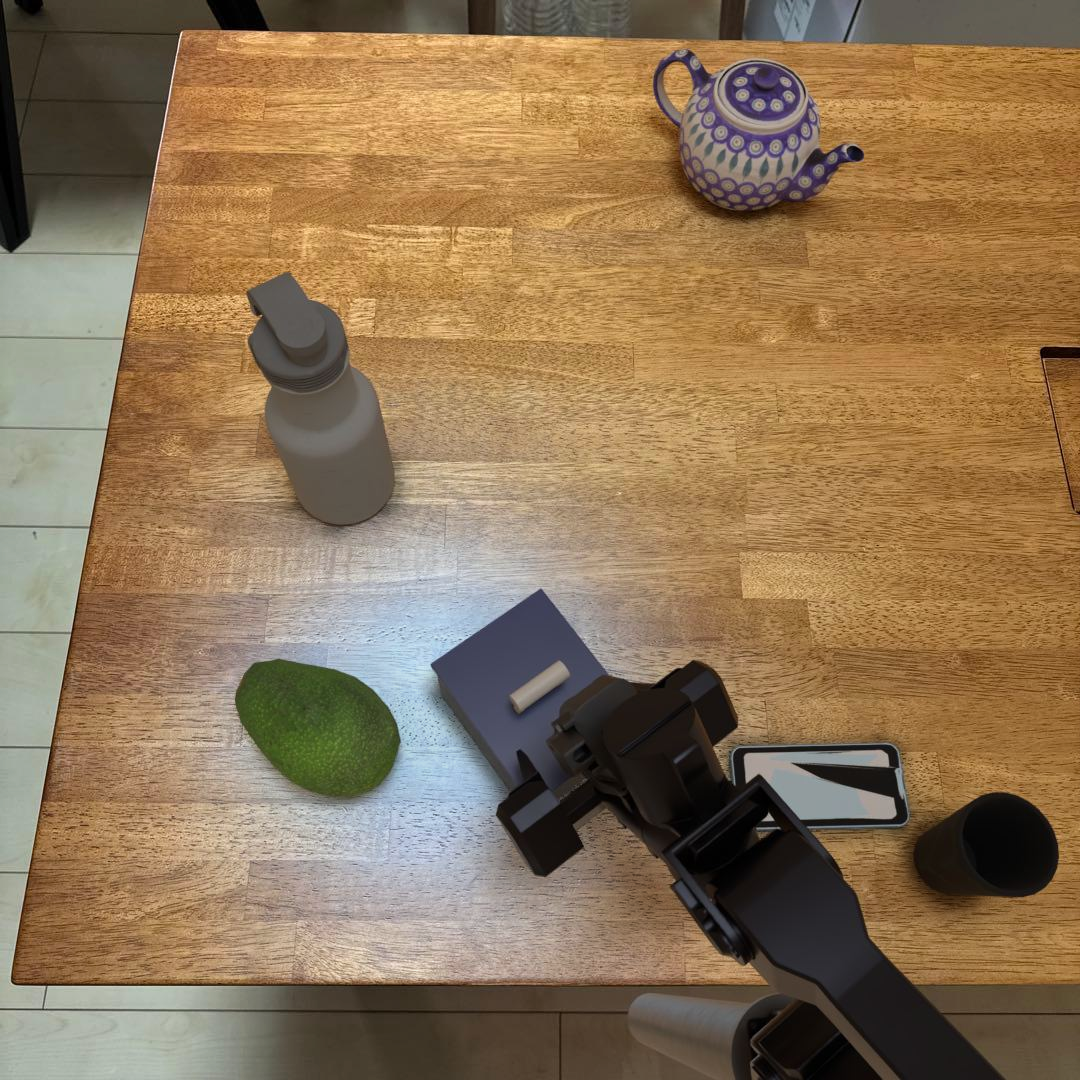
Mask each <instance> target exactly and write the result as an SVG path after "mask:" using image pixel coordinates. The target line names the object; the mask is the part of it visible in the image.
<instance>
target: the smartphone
mask: <svg viewBox="0 0 1080 1080" xmlns="http://www.w3.org/2000/svg"><path fill="white" fill-rule="evenodd" d="M729 769H730V777H731V783H732V784H734V785H735V786H736V787H738V788H739V789H740V788H741V787H742V786H744V785H745V784H746V783H747V782H749V781H750V780H751V779H752V778H754V777H755V776H756V775H757V774H760V775H762V776H763V777H764V779H765V780H766V781H767V782H768V783H769V784H770V785H771V787H772V788H773V789H774V790H775V791H776V792H777V793H778V795H779V796H780V797H781V798H782V799H783V800H784V801H785V803H786V804H787V805H788V806H789V807H790V808H791V809H792V811H793V812H794V813H795V814H796V815H797V816H798V817H799V819H800V820H801V821H802V822H803V823H804V824H805V825H806V827H807V828H808V829H809V830H810V831H816V830H818V831H819V830H865V829H898V828H902V827H904V826H906V825H907V824H908V823H909V821H910V818H911V813H910V807H909V800H908V796H907V795H908V794H907V789H906V783H905V776H904V771H903V770H904V769H903V764H902V758H901V753H900V750H899V748H898V747H897V746H896V745H895V744H894V743H891V742H886V741H885V742H883V741H882V742H846V743H845V742H843V743H842V742H841V743H838V742H837V743H799V744H797V743H796V744H795V743H793V744H752V745H748V744H747V745H738V746H735V747H734V748H733V749H732V750H731V752H730V754H729ZM777 828H778V829H780V827H779V826H778V825H777V823H776V822H775V821H774V819H773V818H772V816H771V815H770V814H769V812H768V816H767V817H766V818H765V819H764V820H762V821H761V822H760V823H759V824H757V825H756V829H757V832H770V831H771V830H772V829H777ZM780 830H781V829H780Z"/></svg>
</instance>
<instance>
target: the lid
mask: <svg viewBox="0 0 1080 1080" xmlns="http://www.w3.org/2000/svg"><path fill="white" fill-rule="evenodd" d="M429 665H430V668H431V669H432V670H433V672H434V674H435V675H436V677H437V676H438V677H437V679H438V678H439V679H440V680H441V682H442V683H443V684H444V686H445V687H446V689H447V690H448V691H449V693H450V694H451V696H452V697H453V698H454V700H455V701H456V703H457V704H458V705H459V707H460V708H461V710H462V711H463V712H464V714H465V715H466V716H467V718H468V719H469V721H470V722H471V723H472V725H473V726H474V728H475V729H476V730H477V732H478V733H479V735H480V736H481V737H482V739H483V740H484V742H485V743H486V744H487V746H488V747H489V748H490V750H491V751H492V753H493V754H494V755H495V757H496V758H497V760H498V761H499V762H500V764H501V765H502V767H503V768H504V769H505V771H506V772H507V774H508V775H509V776H510V778H511V779H512V780H513V782H514V783H515V785H516V786H518V785H519V784H521V772H520V768H519V763H518V759H517V755H516V751H518V750H519V749H521V750H522V751H523V752H524V753H525V754H527V756H528V757H529V759H530V760H531V762H532V763H533V765H534V767H535V768H536V770H537V771H539V773H540V774H541V776H542V778H543V780H544V782H545V783H546V785H547V786H548V787H549V788H550V790H551V791H552V792H554V791H556V790H557V789H558V788H560V787H561V786H562V785H564V784H565V783H566V782H568V781H569V780H570V779H572V778H573V777H570V776H569V775H567V774H566V773H565V771H564V770H563V769H562V768H561V766H560V764H559V763H558V761H557V760H556V758H555V757H554V755H553V754H552V752H551V750H550V749H549V747H548V746H547V743H546V739H548V738H549V737H550V736H552V735H553V733H554V729H553V727H552V725H551V723H552V722H553V721H555V720H556V719H557V718H559V711H560V708H561V706H562V704H563V703H564V702H565V701H566V700H568V699H569V698H571V697H573V696H574V695H576V694H577V693H579V692H580V691H581V690H583V689H584V688H585V687H587V686H588V685H590V684H591V683H592V682H593V681H594V680H595V679H597V678H598V677H600V676H602V675H610V674H609V673H608V671H607V670H606V669H605V667H604V665H602V664H601V662H600V661H599V659H598V658H596V656H595V654H593V652H592V651H591V650H590V649H589V647H588V646H587V645H586V643H585V642H584V641H583V640H582V638H581V637H580V636H579V634H578V633H577V632H576V631H575V629H574V628H573V627H572V625H571V624H570V623H569V621H568V620H567V619H566V617H564V615H563V614H562V613H561V612H560V610H559V609H558V608H557V607H556V605H555V604H554V603H553V601H552V600H551V598H549V596H548V595H547V593H546V592H545V591H544V590H543V588H539V589H538V590H536V591H535V592H533V593H532V594H530V595H529V596H527V597H525V599H523V600H521V601H520V602H518V603H517V604H515V605H514V606H513V607H511V608H510V609H508V610H507V611H506V612H504V613H503V614H501V615H500V616H498V617H497V618H495V619H494V620H492V621H491V622H489V623H488V624H487V625H485V626H483V627H482V628H481V629H479V630H478V631H476V632H475V633H473V634H472V635H470V636H468V638H466V639H464V640H463V641H461V642H460V643H459V644H457V645H456V646H454V647H453V648H451V649H450V650H449V651H447V652H445V653H444V654H443V655H441V656H439V657H438V658H436V659H435V660H434V661H432V662H431V663H430V664H429Z"/></svg>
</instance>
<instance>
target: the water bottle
mask: <svg viewBox="0 0 1080 1080" xmlns="http://www.w3.org/2000/svg"><path fill="white" fill-rule="evenodd" d="M245 293H246V294H245V295H246V297H247V301H248V303H249V309H250V311H251V313H252V314H253V316H255V317H256V318H258V317H260V318H259V319H258V320H257V322H256V323H255V326H254V327H253V331H252V332H251V334H249V336H248V337H247V345H248V348H249V351H250V352H251V355H252V357H253V360H254V363H255V364H256V366H257V367H258V369H259V370H260V372H261V373H262V375H263V378H264V379H265V380H266V381H267V382H268V384H269V385H270V390H269V392H268V393H267V396H266V400H265V404H264V420H265V425H266V428H267V431H268V433H269V436H270V439H271V441H272V443H273V445H274V447H275V449H276V452H277V454H278V457H279V459H280V461H281V464H282V466H283V468H284V471H285V472H286V475H287V477H288V480H289V481H290V484H291V486H292V489H293V491H294V493H295V495H296V498H297V499H298V502H299V504H300V505H301V506H302V508H303V509H304V510H305V511H307V512H308V513H309V514H310V515H311V516H312V517H314V518H316V519H318V520H319V521H321V522H325V523H328V524H331V525H340V526H342V525H352V524H357V523H360V522H362V521H365V520H367V519H370V518H371V517H373V516H374V515H375V514H377V513H378V512H379V511H380V510H381V509H382V508H383V507H384V506H385V505H386V503H387V502H388V501H389V500H390V497H391V495H392V493H393V490H394V486H395V480H396V474H395V473H396V471H395V467H394V463H393V458H392V454H391V450H390V444H389V441H388V436H387V432H386V426H385V423H384V418H383V413H382V409H381V405H380V400H379V396H378V394H377V391H376V389H375V387H374V385H373V384H372V382H371V381H370V380H369V378H368V377H367V376H366V375H365V373H363V372H362V371H360V370H359V369H358V368H357V367H355V366H353V365H351V364H350V359H351V349H350V346H349V342H348V339H347V338H348V337H347V335H346V331H345V326H344V324H343V321H342V319H341V318H340V316H339V315H338V313H336V311H335V310H334V309H332V308H331V307H330V306H328V305H326V304H325V303H322V302H321V301H317V300H314V299H309V297H308V296H307V294H306V293H305V290H304V289H303V288H302V287H301V285H300V284H299V282H298V281H297V280H296V278H295V277H294V276H293V275H292V274H291V273H290V272H288V271H285V272H283V273H281V274H279V275H277V276H275V277H272V278H271V279H269V280H266V281H264V282H262V283H260V284H257V285H256V286H253V287H251V288H249V289H247V290H246V292H245Z"/></svg>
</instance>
